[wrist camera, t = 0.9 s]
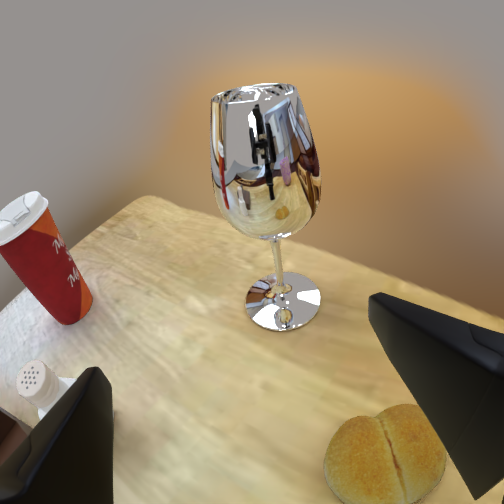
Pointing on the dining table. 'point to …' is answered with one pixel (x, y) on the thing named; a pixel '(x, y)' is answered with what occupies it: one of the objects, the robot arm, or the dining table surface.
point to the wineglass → (267, 189)
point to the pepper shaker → (41, 386)
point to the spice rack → (11, 434)
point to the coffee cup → (42, 258)
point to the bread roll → (385, 458)
